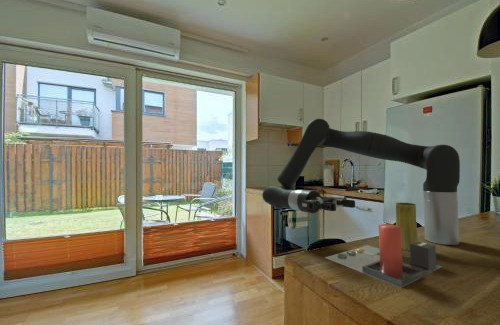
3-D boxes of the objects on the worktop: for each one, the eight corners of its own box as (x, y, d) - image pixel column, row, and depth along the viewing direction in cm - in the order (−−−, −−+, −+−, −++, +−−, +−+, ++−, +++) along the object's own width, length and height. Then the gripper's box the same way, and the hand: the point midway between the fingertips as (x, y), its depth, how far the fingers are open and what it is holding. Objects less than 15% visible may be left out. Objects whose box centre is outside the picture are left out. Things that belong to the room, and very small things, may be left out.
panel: (367, 247, 76) (367, 241, 76) (442, 268, 59) (442, 261, 59) (324, 259, 66) (324, 253, 66) (400, 290, 49) (400, 281, 49)
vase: (423, 253, 70) (421, 205, 70) (400, 252, 71) (398, 204, 71) (413, 247, 76) (411, 202, 76) (392, 246, 77) (391, 202, 77)
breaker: (418, 260, 63) (417, 240, 63) (436, 265, 59) (435, 244, 59) (410, 263, 61) (410, 243, 61) (428, 269, 57) (428, 247, 57)
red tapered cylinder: (386, 268, 58) (385, 223, 59) (406, 275, 54) (405, 227, 55) (375, 272, 56) (374, 225, 56) (396, 280, 52) (394, 229, 52)
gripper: (287, 191, 77) (327, 194, 63) (318, 188, 85) (359, 190, 71) (289, 214, 77) (328, 222, 63) (319, 209, 84) (361, 215, 70)
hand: (345, 205), depth 67 cm, fingers open, 8 cm apart
